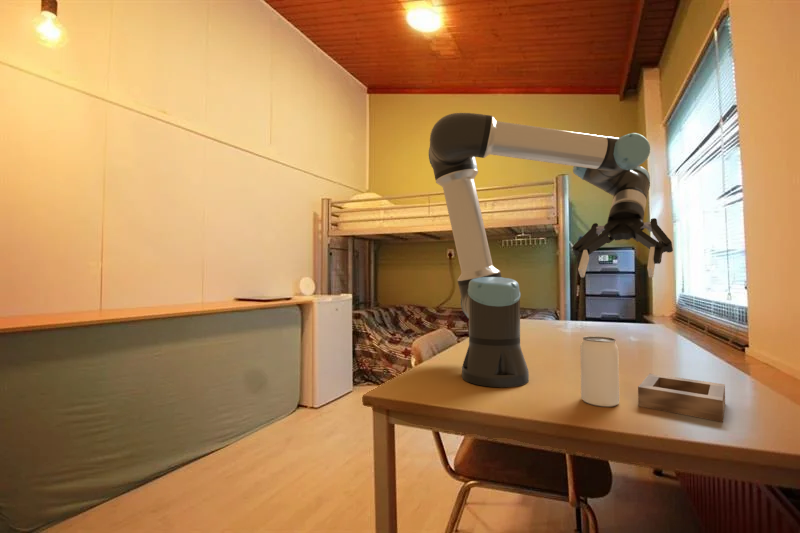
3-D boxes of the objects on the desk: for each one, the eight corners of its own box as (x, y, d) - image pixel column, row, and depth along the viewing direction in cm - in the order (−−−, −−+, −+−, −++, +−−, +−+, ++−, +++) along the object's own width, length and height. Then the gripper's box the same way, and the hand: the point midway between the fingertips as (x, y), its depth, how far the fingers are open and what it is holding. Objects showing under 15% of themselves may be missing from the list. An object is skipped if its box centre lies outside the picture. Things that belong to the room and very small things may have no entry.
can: (624, 408, 70) (623, 342, 71) (586, 406, 72) (585, 341, 72) (612, 397, 77) (611, 336, 77) (577, 395, 78) (576, 335, 78)
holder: (638, 405, 72) (638, 386, 72) (649, 390, 81) (649, 373, 81) (722, 422, 64) (722, 400, 64) (725, 403, 73) (724, 384, 73)
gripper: (690, 218, 91) (685, 285, 79) (577, 227, 107) (560, 284, 96) (687, 192, 87) (681, 258, 76) (571, 206, 103) (551, 262, 92)
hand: (613, 273), depth 86 cm, fingers open, 13 cm apart
